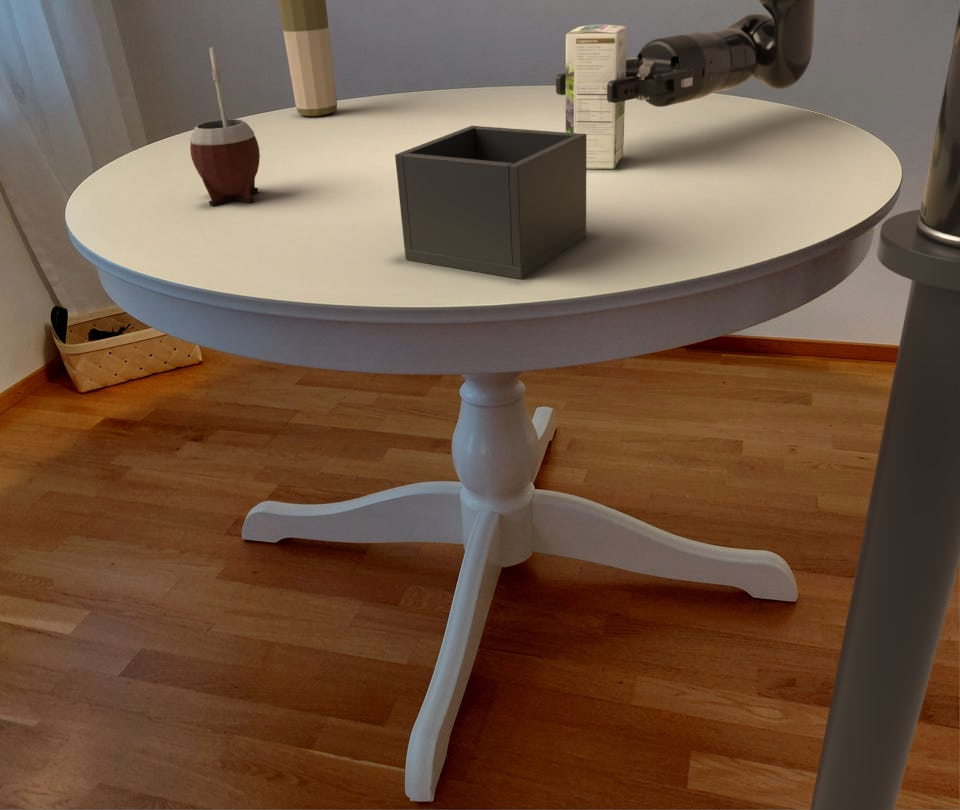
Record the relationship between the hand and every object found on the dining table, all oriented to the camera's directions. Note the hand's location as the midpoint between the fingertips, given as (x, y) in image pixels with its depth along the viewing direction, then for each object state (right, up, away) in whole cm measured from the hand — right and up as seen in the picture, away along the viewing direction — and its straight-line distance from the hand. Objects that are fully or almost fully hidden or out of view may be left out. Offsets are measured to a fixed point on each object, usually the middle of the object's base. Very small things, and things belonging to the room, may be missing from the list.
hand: (583, 88), depth 96 cm
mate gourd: (-39, -12, +1) cm, 40 cm away
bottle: (-37, +11, +42) cm, 57 cm away
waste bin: (-10, -21, -19) cm, 30 cm away
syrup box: (+2, -7, +5) cm, 9 cm away
